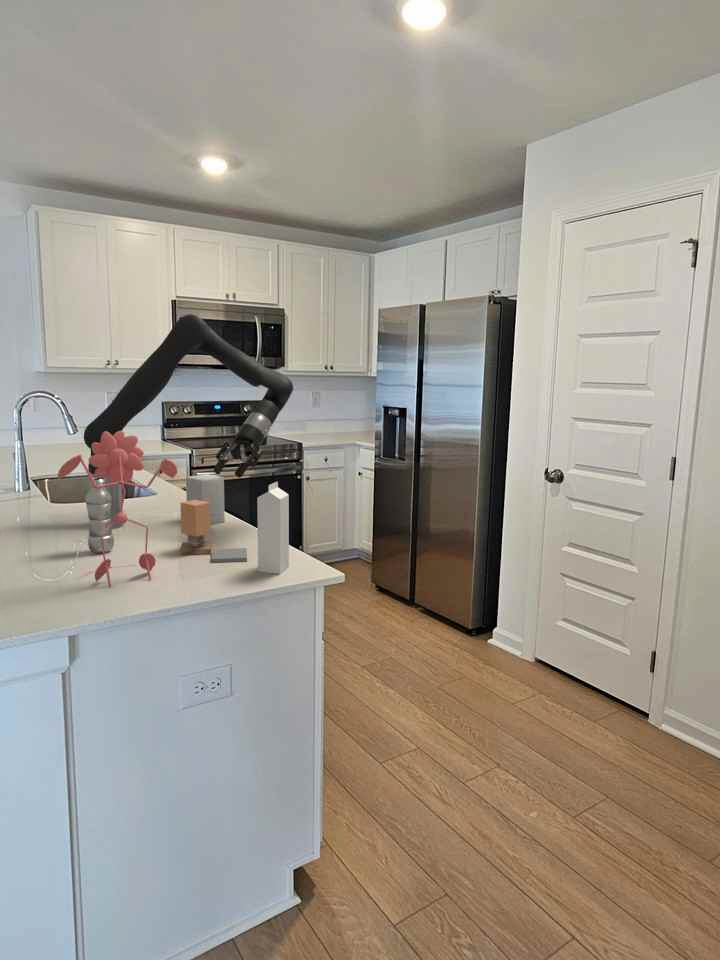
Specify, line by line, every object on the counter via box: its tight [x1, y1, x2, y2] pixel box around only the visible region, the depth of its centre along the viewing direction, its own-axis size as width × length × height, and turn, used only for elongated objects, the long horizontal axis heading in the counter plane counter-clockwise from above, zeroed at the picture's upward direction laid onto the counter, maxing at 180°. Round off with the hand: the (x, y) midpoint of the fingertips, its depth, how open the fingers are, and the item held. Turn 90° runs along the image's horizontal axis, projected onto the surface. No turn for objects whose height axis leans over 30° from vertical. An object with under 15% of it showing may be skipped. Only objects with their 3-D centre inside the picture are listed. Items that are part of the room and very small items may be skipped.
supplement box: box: [185, 473, 226, 525], centre depth 201 cm, size 9×9×15 cm
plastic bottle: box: [84, 478, 115, 554], centre depth 166 cm, size 6×7×20 cm
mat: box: [211, 547, 248, 564], centre depth 165 cm, size 9×9×1 cm
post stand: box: [179, 535, 213, 556], centre depth 169 cm, size 11×11×12 cm
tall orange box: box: [180, 500, 211, 537], centre depth 169 cm, size 5×6×8 cm
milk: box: [256, 481, 290, 575], centre depth 154 cm, size 6×6×22 cm
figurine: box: [57, 430, 178, 588], centre depth 146 cm, size 15×26×35 cm, turn 126°
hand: (226, 474), depth 177 cm, fingers open, 8 cm apart
